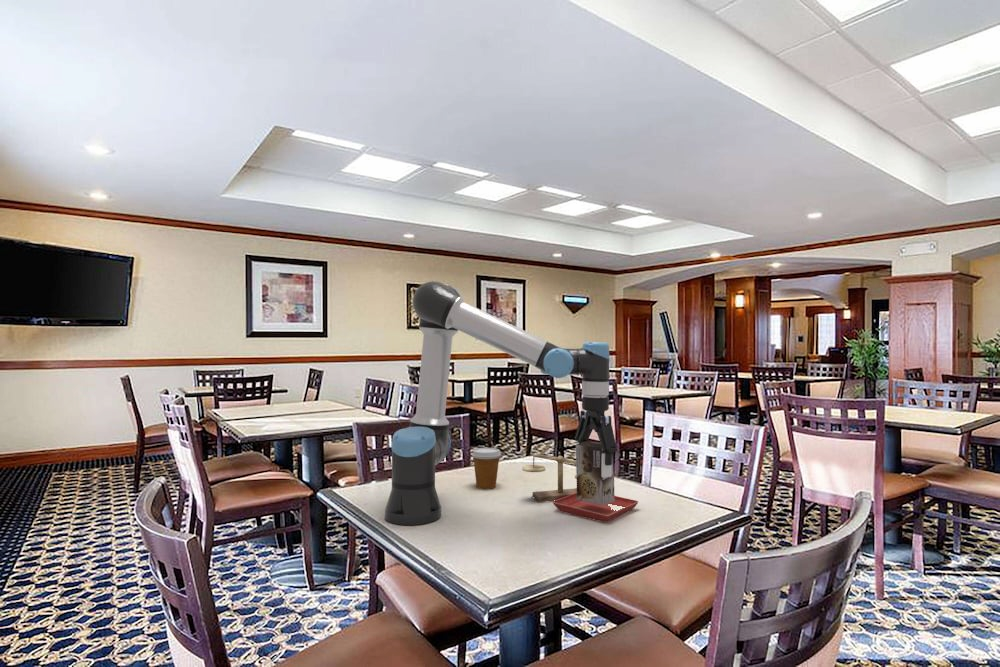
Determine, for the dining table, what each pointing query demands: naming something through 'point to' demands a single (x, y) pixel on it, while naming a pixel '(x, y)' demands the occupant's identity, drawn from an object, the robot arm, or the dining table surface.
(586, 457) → the coffee box
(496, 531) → the dining table surface
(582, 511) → the plant saucer
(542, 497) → the balance
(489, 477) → the disposable coffee cup
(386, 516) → the robot arm
